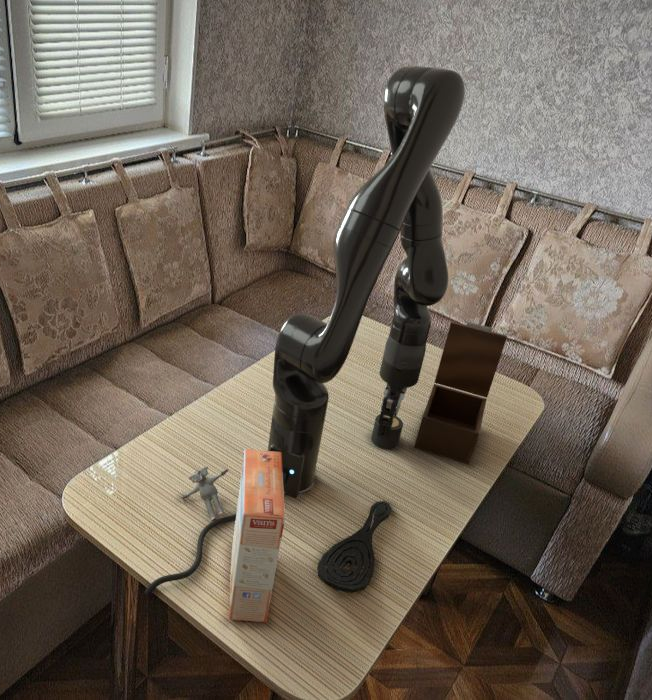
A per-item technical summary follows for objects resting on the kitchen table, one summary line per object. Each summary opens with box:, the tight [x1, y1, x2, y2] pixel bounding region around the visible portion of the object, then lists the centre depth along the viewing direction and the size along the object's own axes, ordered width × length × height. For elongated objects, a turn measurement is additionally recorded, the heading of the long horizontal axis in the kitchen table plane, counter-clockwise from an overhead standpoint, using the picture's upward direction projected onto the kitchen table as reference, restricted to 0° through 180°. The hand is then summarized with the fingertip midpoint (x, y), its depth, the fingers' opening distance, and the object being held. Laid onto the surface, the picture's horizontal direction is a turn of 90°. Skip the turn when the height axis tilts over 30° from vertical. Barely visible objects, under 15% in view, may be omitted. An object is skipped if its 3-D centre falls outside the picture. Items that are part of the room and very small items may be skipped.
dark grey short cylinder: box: [370, 413, 404, 450], centre depth 137 cm, size 6×6×5 cm
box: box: [413, 383, 487, 466], centre depth 139 cm, size 14×11×8 cm
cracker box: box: [228, 448, 286, 623], centre depth 98 cm, size 14×6×21 cm, turn 179°
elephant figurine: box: [180, 466, 229, 522], centre depth 116 cm, size 10×6×9 cm
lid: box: [434, 321, 508, 399], centre depth 141 cm, size 15×11×5 cm
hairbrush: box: [316, 500, 393, 594], centre depth 111 cm, size 8×4×25 cm
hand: (387, 425), depth 137 cm, fingers open, 8 cm apart
